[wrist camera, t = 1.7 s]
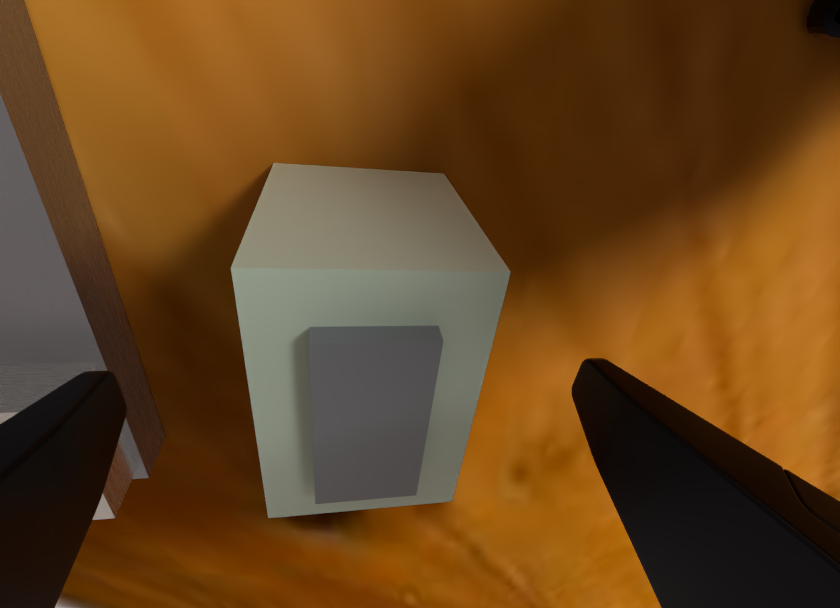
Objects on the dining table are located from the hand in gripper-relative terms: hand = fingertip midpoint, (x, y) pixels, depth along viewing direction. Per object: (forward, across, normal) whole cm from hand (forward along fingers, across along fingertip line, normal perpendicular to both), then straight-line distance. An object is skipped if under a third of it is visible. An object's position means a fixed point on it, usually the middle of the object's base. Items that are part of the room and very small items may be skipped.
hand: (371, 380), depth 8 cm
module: (+4, 0, 0) cm, 4 cm away
